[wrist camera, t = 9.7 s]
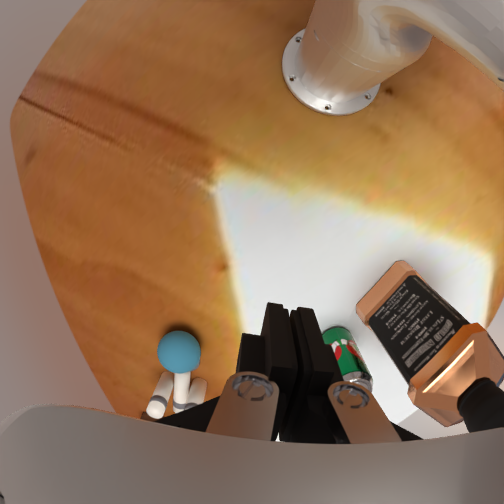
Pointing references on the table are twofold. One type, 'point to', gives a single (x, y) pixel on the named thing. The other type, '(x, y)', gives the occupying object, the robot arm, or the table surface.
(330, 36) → the robot arm
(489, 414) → the whiskey bottle
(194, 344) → the ball
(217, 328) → the table surface
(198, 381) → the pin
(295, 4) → the table surface
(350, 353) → the soda can
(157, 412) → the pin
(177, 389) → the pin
